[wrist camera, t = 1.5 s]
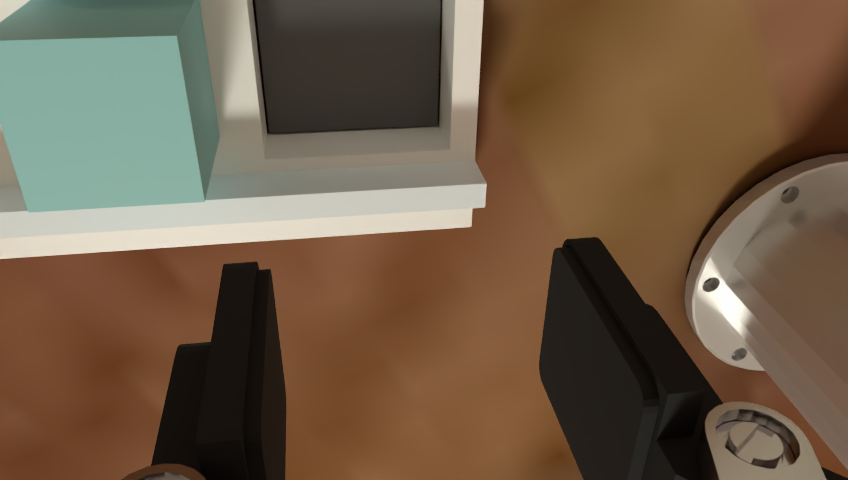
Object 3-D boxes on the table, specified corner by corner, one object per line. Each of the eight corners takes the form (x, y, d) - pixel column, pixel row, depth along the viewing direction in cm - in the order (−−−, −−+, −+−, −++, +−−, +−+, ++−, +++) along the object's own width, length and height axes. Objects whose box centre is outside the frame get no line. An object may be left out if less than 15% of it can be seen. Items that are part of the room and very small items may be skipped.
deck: (475, -167, 24) (508, -162, 20) (459, 198, 31) (482, 252, 28) (-485, -176, 20) (-665, -172, 16) (-248, 242, 27) (-335, 312, 24)
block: (198, -7, 23) (176, 35, 19) (219, 136, 26) (204, 202, 21) (34, -3, 22) (-27, 41, 18) (73, 143, 25) (28, 212, 21)
